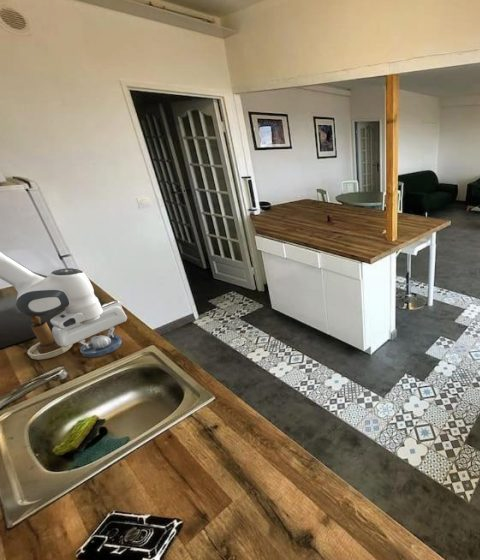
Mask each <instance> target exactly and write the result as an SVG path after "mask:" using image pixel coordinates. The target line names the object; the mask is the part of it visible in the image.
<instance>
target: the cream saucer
mask: <svg viewBox="0 0 480 560" xmlns="http://www.w3.org/2000/svg"><path fill="white" fill-rule="evenodd" d="M39 344H40V342H39V341H38V342H37V343H35V344H34V345H32V346H31V347H30V348H29V349H27V353H26V354H27V356H28V357H29V358H31V359H32V360H36V361H40V360H41V361H43V360H47V359H51V358H55V357H57V356H60V355H62V354H64V353H66V352H67V351H69V350H70V349H71V348H72V347H73V345H74V344H72V345H69V346H67V347H61V348H59V349H57V350H55V351H52V352H48V353H45V354H40V353H39V351H38V350H37V347H38V346H39Z"/></svg>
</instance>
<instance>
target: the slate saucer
mask: <svg viewBox="0 0 480 560" xmlns="http://www.w3.org/2000/svg"><path fill="white" fill-rule="evenodd" d="M113 335H114V337H113V338H111V343H110V344H109V345H108V346H107V347H105V348H102V349H95V348H92V347H91V348H89V349H87V348H86V347H85V345H84V344H82V346H81V347H80V348H79V352H80V354H81V356H83V357H84V358H89V359H91V358H92V359H93V358H99V357H103V356H106V355H109V354H111V353H113V352H114V351H116V350H118V349H119V348H121V346H122V343H123V340H122V337H121V335H119V334H113ZM104 336H106V334H105V335H104ZM87 342H90V340H88V341H87Z"/></svg>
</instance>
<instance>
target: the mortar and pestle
mask: <svg viewBox="0 0 480 560" xmlns="http://www.w3.org/2000/svg"><path fill="white" fill-rule="evenodd" d="M27 316H28V317H30V321H31V323H32V324H31V325H30V328H31V330H32V331H33V334H34V335H35V337H36V338H37V340H38V343H39V342H40V344H39V346H38V347H37V350H38V351H39V353H40V354H45V353H48V352H52V351H55V350H57V349H59V348H61V346H59V345H58V344H57V343H56V342H55V339H54V337H53V333H52V329H51V328H50V327H49V325H48V322H47V321H46V320H42V319H41V316H29V315H27ZM41 320H42V321H41Z"/></svg>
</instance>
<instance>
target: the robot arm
mask: <svg viewBox="0 0 480 560" xmlns="http://www.w3.org/2000/svg"><path fill="white" fill-rule="evenodd" d="M0 279H1V281H4V282H6V283H8V284H9V285H11V286H12V287H13V288H14V289H15V290H16V292H17V295H16V303H15V306H16V308H17V310H18V311H19V312H21V313H22V314H24V315H26V316H28V315H29V316H28V317H30V316H38V317H43V316H47V315H50V314H53V313H57V312H59V311H61V310H63V309H64V310H63V311H61V312H60V313H58V314H57V315H55V316H54V317H52V318H51V319H50V320H49V323H50V324H51V325H52V326H53V327H52V328H51V332H52V334H53V337H54V339H55V342H56V343H57V344H58V345H59V346H61V347H67V346H69V345H72V344H73V345H74V344H76V343H79V344H81V345H85V347H86V348H87V349H89V348H91V347H93V346H92V344H91V343H90V342H88V341H87V342H86V339H88V338H90V337H94V336H96V335H97V334H99V333H102V332H105V331H106V330H108V331H107V333H105V335H106V336H107V337H109V338H110V339H111V338H113V337H114V335H115V334H114V331H115V329H116V328H115V327H116V326H118V325H120V324H122V323H126V322H127V319H128V316H127V314H126V313H125V310H124V309H123V310H124V311H123V310H122V308H123V305H122V303H121V302H120V301H119V300H111V301H109V302H105V303H106V304H105V303H103V304H101V303H100V300H99V298H98V297H97V296H96V294H95V290H94V286H93V284H92V283H91V280H90V279H89V277H88V275H87V274H86V273H85V272H84V271H83V270H81V269H79V268H70V267H69V268H59V269H56V270H53V271H51V273H49V275H45V274H41V273H38V272H35V271H33V270H31V269H29V268H27V267H26V266H25V265H23V264H21V263H19V262H17V261H16V260H14V259H13V258H11V257H9V256H8V255H7V254H6V253H5V254H4V253H3V252H1V251H0Z"/></svg>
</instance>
